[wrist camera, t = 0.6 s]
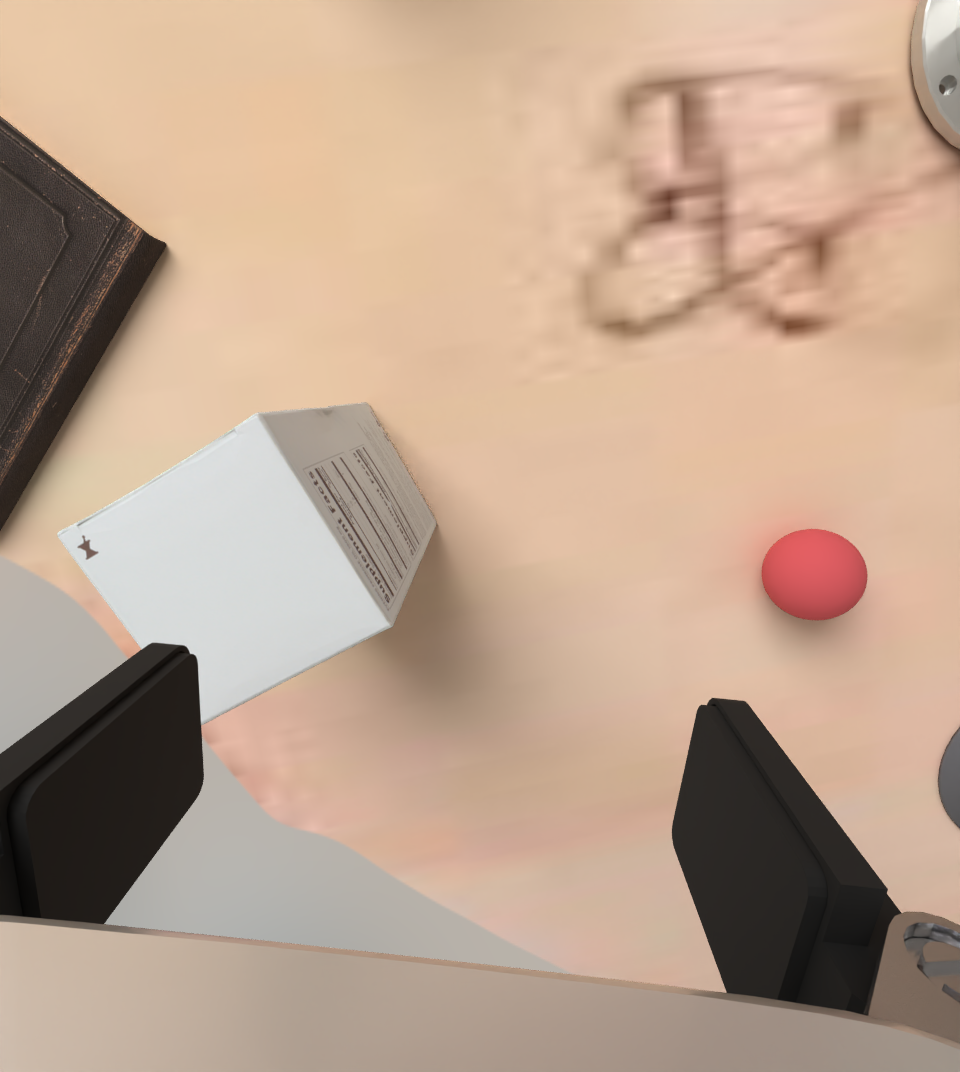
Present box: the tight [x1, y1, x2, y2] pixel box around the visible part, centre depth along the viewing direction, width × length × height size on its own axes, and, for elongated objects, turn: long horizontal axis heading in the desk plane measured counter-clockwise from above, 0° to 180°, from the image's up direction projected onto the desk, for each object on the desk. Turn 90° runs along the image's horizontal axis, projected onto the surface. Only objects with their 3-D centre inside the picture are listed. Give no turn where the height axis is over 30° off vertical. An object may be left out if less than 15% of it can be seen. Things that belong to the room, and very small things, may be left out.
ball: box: [762, 529, 867, 620], centre depth 34 cm, size 6×6×6 cm
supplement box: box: [57, 402, 437, 725], centre depth 29 cm, size 10×9×17 cm
